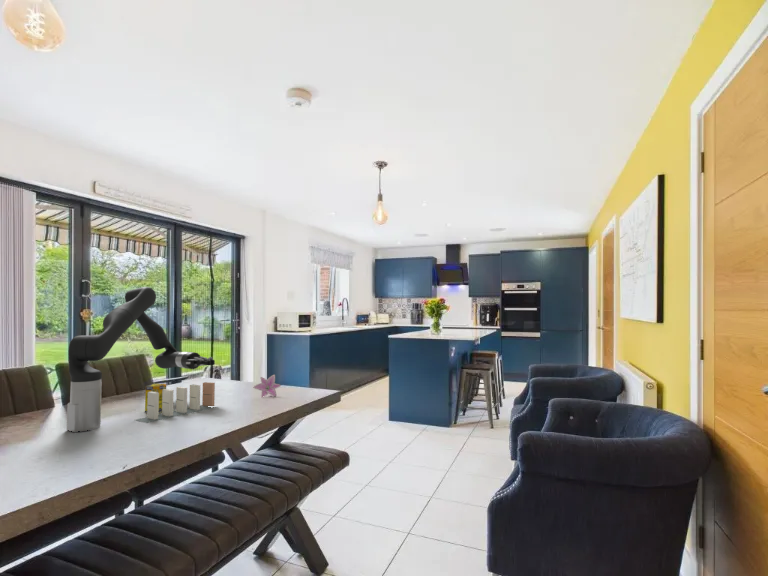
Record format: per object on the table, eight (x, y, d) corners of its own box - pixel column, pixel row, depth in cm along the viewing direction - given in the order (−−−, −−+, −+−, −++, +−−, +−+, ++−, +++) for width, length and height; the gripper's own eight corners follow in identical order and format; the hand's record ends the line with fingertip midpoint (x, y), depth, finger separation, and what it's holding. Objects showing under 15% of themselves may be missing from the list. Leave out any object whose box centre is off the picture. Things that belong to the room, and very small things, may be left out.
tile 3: (183, 413, 174) (183, 388, 175) (176, 411, 177) (176, 387, 177) (186, 412, 175) (187, 387, 176) (179, 410, 178) (180, 386, 179)
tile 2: (196, 410, 179) (196, 386, 180) (189, 408, 182) (189, 385, 182) (200, 409, 180) (200, 385, 181) (192, 407, 183) (193, 384, 184)
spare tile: (211, 406, 186) (212, 383, 186) (202, 405, 187) (202, 382, 188) (214, 405, 187) (214, 382, 188) (204, 405, 189) (205, 382, 189)
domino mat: (146, 423, 159) (146, 423, 159) (133, 420, 164) (133, 419, 164) (218, 407, 185) (218, 406, 185) (205, 404, 190) (205, 404, 190)
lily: (249, 399, 207) (252, 383, 203) (260, 385, 217) (263, 370, 214) (272, 407, 206) (275, 391, 202) (282, 393, 216) (285, 378, 213)
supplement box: (158, 412, 176) (159, 386, 177) (144, 412, 176) (145, 386, 177) (166, 409, 182) (166, 383, 182) (152, 409, 182) (153, 383, 183)
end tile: (154, 419, 164) (154, 393, 164) (147, 417, 167) (147, 392, 167) (158, 418, 165) (158, 392, 166) (151, 417, 168) (151, 391, 168)
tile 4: (169, 416, 169) (169, 390, 169) (161, 414, 172) (162, 389, 172) (173, 415, 170) (173, 390, 171) (165, 413, 173) (166, 388, 173)
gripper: (174, 353, 189) (198, 355, 180) (201, 350, 201) (225, 352, 191) (173, 370, 189) (198, 373, 180) (201, 366, 200) (225, 369, 191)
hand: (212, 362), depth 186 cm, fingers closed
